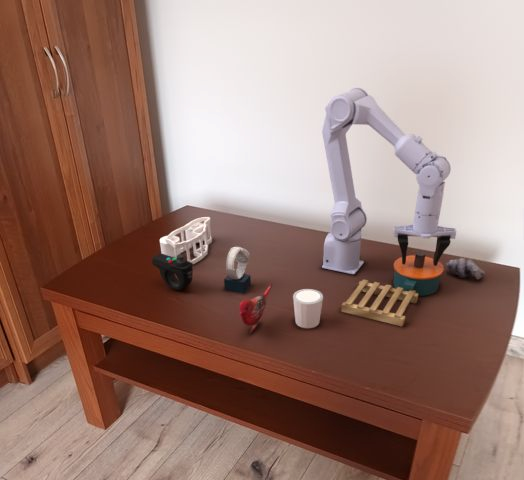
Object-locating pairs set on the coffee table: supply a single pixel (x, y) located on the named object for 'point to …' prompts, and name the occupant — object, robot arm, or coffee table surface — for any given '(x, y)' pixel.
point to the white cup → (307, 307)
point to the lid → (418, 267)
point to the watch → (237, 278)
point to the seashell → (464, 268)
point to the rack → (382, 292)
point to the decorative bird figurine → (253, 309)
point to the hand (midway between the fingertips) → (419, 263)
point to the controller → (174, 270)
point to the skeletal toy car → (188, 240)
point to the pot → (416, 284)
